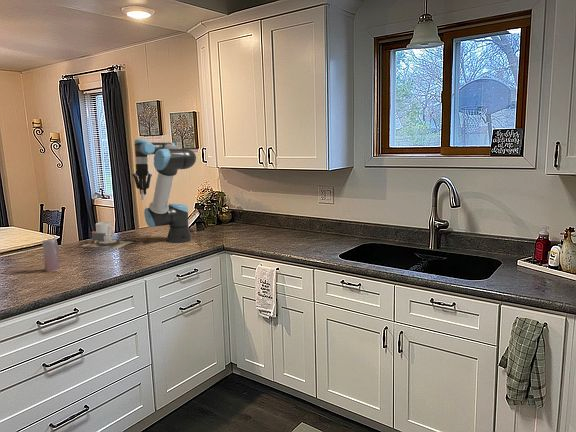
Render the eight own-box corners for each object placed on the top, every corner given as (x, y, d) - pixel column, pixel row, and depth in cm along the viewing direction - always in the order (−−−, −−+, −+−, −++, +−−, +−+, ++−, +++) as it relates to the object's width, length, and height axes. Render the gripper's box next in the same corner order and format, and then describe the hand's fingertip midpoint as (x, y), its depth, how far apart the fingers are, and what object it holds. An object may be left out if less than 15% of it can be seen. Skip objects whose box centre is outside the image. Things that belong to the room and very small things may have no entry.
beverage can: (48, 268, 214) (45, 238, 212) (61, 268, 215) (58, 238, 212) (42, 272, 208) (39, 241, 206) (55, 271, 209) (53, 241, 206)
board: (134, 243, 268) (133, 239, 268) (118, 250, 252) (118, 245, 251) (98, 241, 273) (97, 237, 272) (80, 248, 256) (80, 243, 256)
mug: (118, 238, 283) (117, 222, 281) (110, 241, 275) (109, 225, 273) (102, 237, 286) (101, 221, 284) (93, 239, 278) (92, 224, 276)
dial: (120, 242, 266) (119, 231, 264) (110, 246, 256) (109, 234, 255) (98, 241, 269) (97, 230, 268) (87, 244, 259) (87, 233, 258)
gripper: (153, 163, 286) (155, 199, 290) (135, 162, 288) (137, 198, 292) (148, 163, 279) (149, 200, 283) (129, 163, 281) (131, 199, 285)
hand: (143, 199), depth 287 cm, fingers closed
